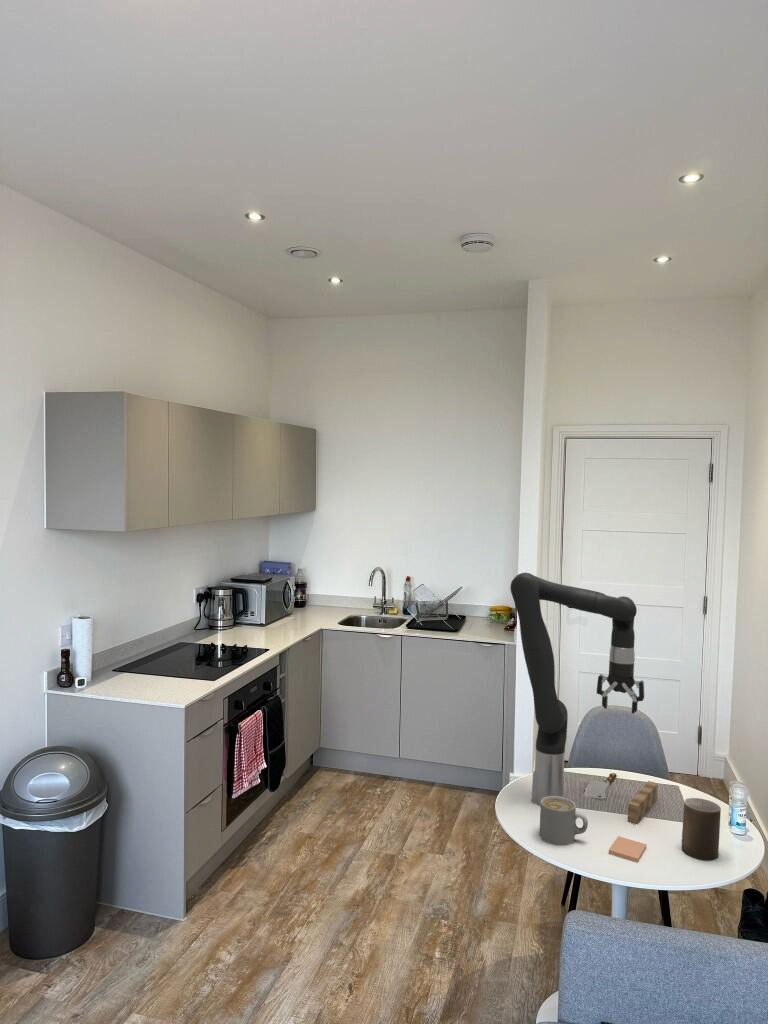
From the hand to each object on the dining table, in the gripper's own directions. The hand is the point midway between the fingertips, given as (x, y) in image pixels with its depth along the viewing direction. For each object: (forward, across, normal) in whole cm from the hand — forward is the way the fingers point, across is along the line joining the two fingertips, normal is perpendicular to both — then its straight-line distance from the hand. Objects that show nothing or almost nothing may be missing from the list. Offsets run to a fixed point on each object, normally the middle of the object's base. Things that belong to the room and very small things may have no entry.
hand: (619, 710), depth 228 cm
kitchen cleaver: (+33, -8, +16) cm, 37 cm away
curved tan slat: (+32, +8, +4) cm, 34 cm away
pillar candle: (+32, +26, -15) cm, 44 cm away
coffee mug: (+32, -10, -28) cm, 44 cm away
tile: (+32, +8, -20) cm, 39 cm away
